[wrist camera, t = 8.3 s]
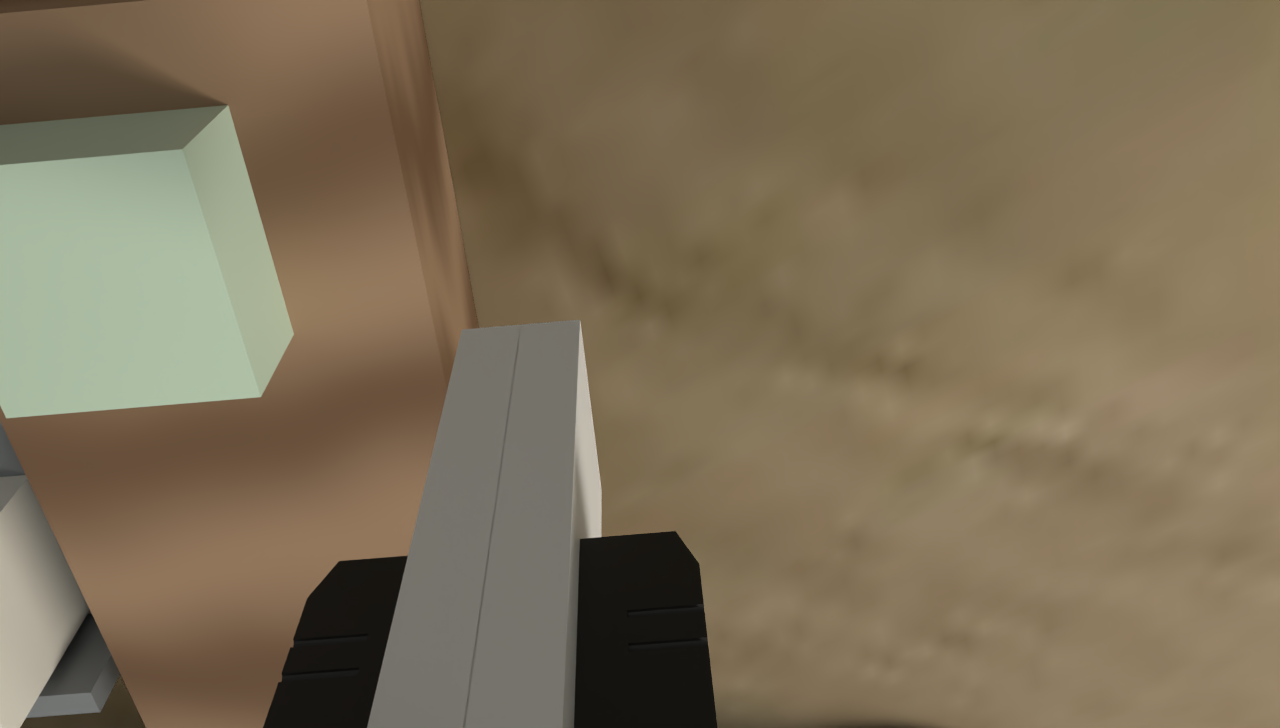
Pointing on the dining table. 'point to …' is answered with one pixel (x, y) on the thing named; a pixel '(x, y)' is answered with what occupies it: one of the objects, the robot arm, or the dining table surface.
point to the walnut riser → (313, 361)
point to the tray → (70, 648)
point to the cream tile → (31, 601)
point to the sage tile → (133, 265)
